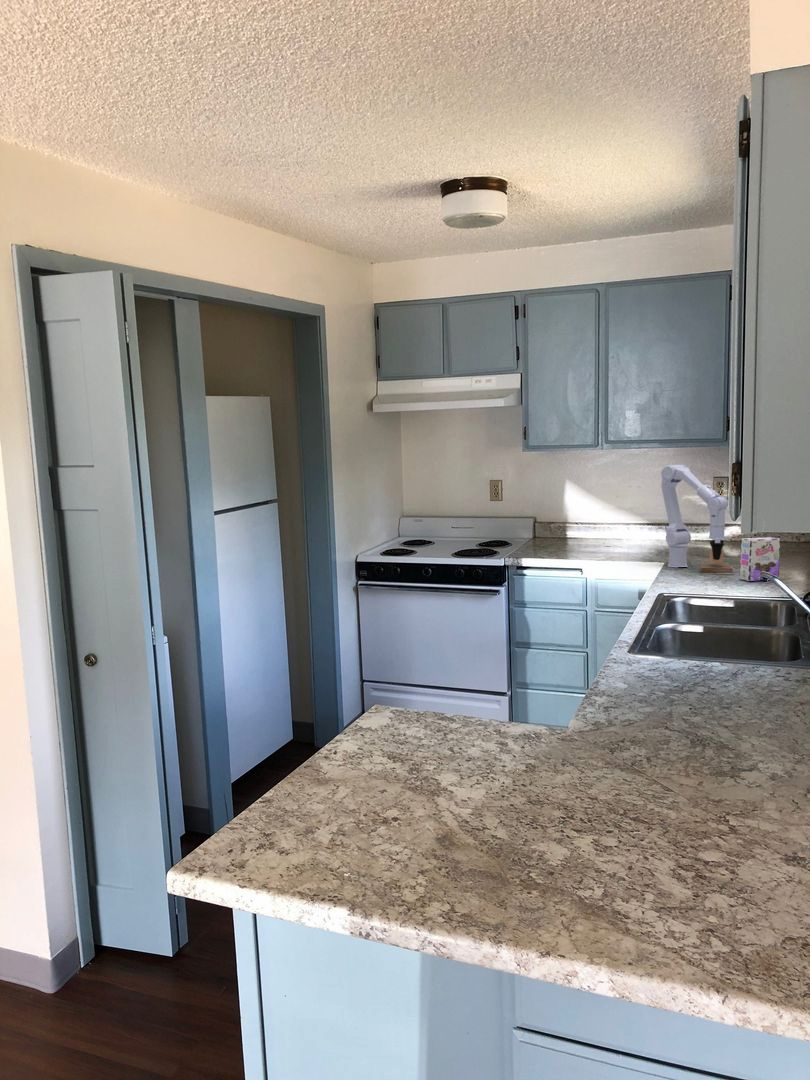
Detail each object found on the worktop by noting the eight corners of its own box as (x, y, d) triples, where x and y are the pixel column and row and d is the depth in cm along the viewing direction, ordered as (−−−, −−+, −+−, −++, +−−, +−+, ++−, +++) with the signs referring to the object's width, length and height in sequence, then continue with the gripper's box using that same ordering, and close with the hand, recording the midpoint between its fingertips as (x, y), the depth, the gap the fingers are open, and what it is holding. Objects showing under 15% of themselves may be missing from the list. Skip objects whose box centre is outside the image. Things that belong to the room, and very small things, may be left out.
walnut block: (699, 570, 353) (700, 563, 352) (730, 571, 349) (730, 564, 349) (700, 574, 341) (701, 567, 341) (732, 575, 338) (732, 568, 337)
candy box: (748, 582, 319) (750, 539, 317) (738, 580, 324) (740, 538, 323) (779, 580, 322) (781, 538, 321) (769, 578, 328) (770, 536, 326)
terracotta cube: (709, 561, 348) (709, 549, 347) (722, 561, 346) (722, 549, 346) (710, 562, 343) (710, 550, 342) (723, 563, 341) (723, 551, 341)
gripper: (728, 527, 335) (727, 561, 336) (726, 524, 349) (725, 556, 350) (709, 527, 337) (709, 560, 339) (708, 524, 351) (707, 556, 352)
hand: (716, 558), depth 344 cm, fingers closed on terracotta cube, 5 cm apart
